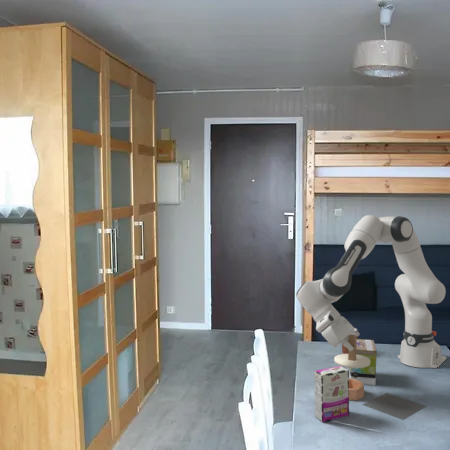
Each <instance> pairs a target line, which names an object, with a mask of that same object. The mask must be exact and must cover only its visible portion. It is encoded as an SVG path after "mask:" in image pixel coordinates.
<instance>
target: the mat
mask: <svg viewBox="0 0 450 450" xmlns="http://www.w3.org/2000/svg"><path fill="white" fill-rule="evenodd" d="M362 405H363V406H364V407H367V408H370V409H373V410H376V411H378V412H380V413H383V414H387V415H389V416H392V417H394V418H397V419H399V420H402V421H404V420H406V419H407V418H409V417H411V416H413V415H414V414H416V413H418V412H420V411H421V410H423V409H425V408H427V407H428V406H427V405H424V404H422V403H419V402H416V401H412V400H410V399H407V398H403V397H401V396H398V395H395V394H393V393H389V392H385V393H383V394H381V395H379V396H377V397H375V398H373V399H371V400H368V401H366V402H364V403H362Z"/></svg>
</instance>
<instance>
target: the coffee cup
mask: <svg viewBox="0 0 450 450" xmlns="http://www.w3.org/2000/svg"><path fill="white" fill-rule="evenodd" d="M354 329H355V330H354V331H353V332H352V333H351V335H357V339H359V336H360V334H361V333H360V332H359V331H358V329H357V328H356V327H354ZM341 353H342V354H348V348H346V347H345V346H343V345H342V344H341Z"/></svg>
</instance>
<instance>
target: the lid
mask: <svg viewBox="0 0 450 450" xmlns="http://www.w3.org/2000/svg"><path fill="white" fill-rule="evenodd" d="M349 343H350V344H352V345H353V346H354V349H353V350H352V351H349V349H348V354H338V355H335V356H334V358H333V359H334V363H335V364H336V365H338V366H342V367H344V368H347V369H349V368H365V367H368V366H369V365H370V359H369V358H367V357H365V356H361V355H357V354H356V349H357V335H351V334H350V335H349Z"/></svg>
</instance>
